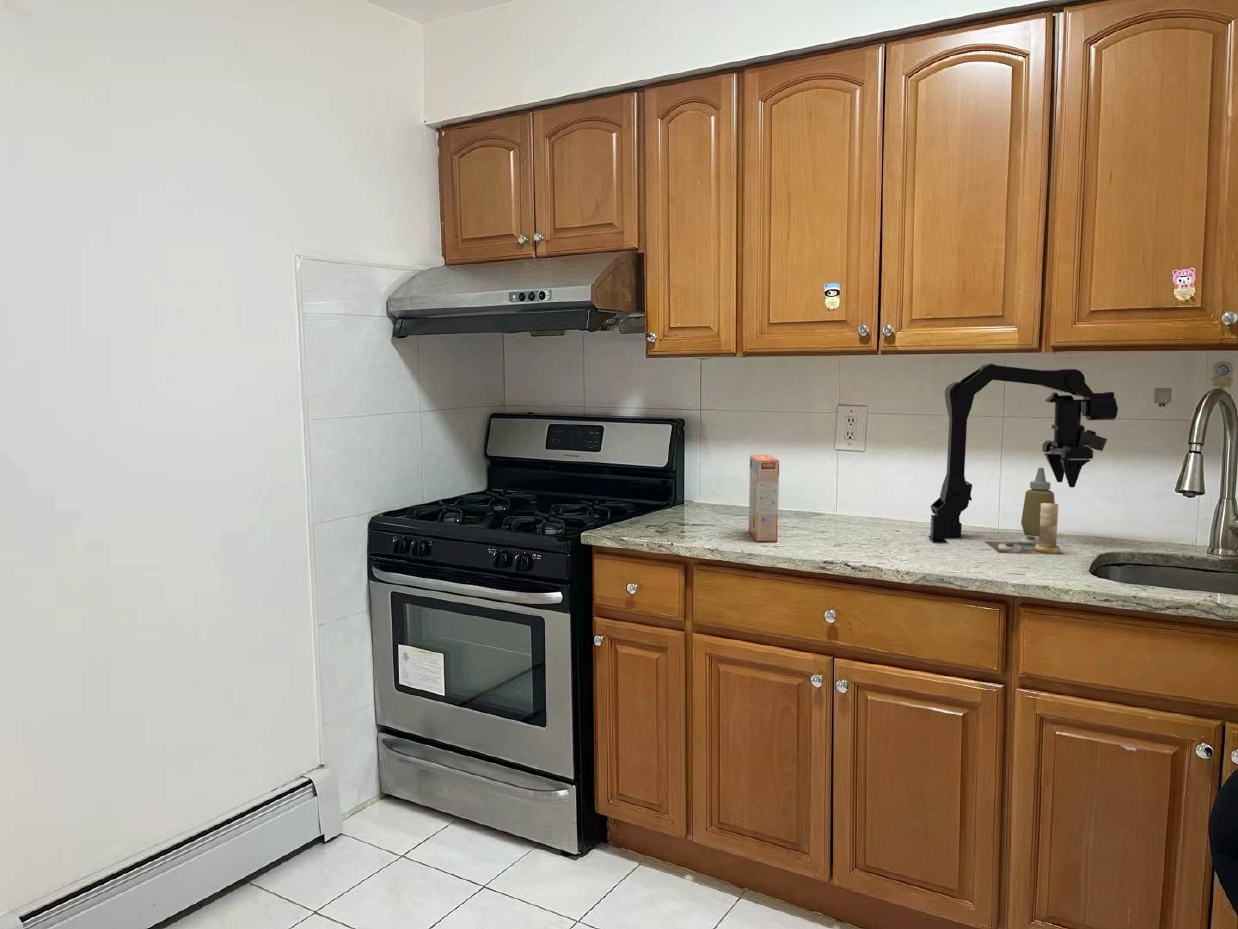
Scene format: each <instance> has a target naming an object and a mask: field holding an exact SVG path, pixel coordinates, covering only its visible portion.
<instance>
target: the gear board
mask: <svg viewBox="0 0 1238 929" xmlns="http://www.w3.org/2000/svg"><path fill="white" fill-rule="evenodd" d="M983 542H984V543H985V544H987V545H988V546H989V547H990V548H992V549H993V550H995V551H996V552H997V553H998V554H1010V555H1011V554H1013V555H1014V554H1016V555H1017V554H1018V555H1019V554H1020V555H1021V554H1022V555H1046V554H1045V553H1039V552H1036V551H1035V545H1037V544H1039V537H1036V536H1033V535H1027V537H1020V538H1019V541H992V540H991V541H989V540H988V541H987V540H986V541H984V540H983ZM1051 555H1053V556H1054V555H1062V556H1064V555H1065V554H1064V553H1063V552H1061V551H1060V553H1058V554H1051Z"/></svg>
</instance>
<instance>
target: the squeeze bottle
mask: <svg viewBox="0 0 1238 929" xmlns="http://www.w3.org/2000/svg"><path fill="white" fill-rule="evenodd" d="M1029 488H1030V489H1028V490H1026V491H1025V495H1024V501H1023V508H1022V512H1021V515H1022V516H1021V520H1020V524H1021V527H1022V530H1023V531H1022V532H1023V534H1024V536H1033V537H1039V532H1040V511H1041V503H1054V504H1056V500H1055V493H1054V492H1053V491H1052V490H1051V482H1049V481H1047V480H1046V474H1045V469H1044V467H1038V468H1037V471H1036V475H1035V478H1034V480H1033V481H1030V482H1029Z"/></svg>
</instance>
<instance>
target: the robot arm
mask: <svg viewBox="0 0 1238 929" xmlns="http://www.w3.org/2000/svg"><path fill="white" fill-rule="evenodd" d="M992 381H1002V382H1008V383H1009V382H1010V383H1018V384H1019V383H1020V384H1026V385H1027V384H1029V385H1037V386H1039V387H1044V388H1046V389H1050V390H1053V391H1056V392H1052V393H1051V395H1050V396H1049V397H1047V398H1046V399H1045V402H1047V403H1053V404H1054V421H1053V422H1054V424H1051V429H1052V430H1054V431H1053V440H1046V441H1044V443H1042V451H1041V452H1043V453H1044V456H1045V458H1046V460H1047V462H1048V464H1049V467H1050V468H1051V471H1052V473H1053V475H1054V477H1055V479H1056V480H1055V481H1056V482H1057V483H1063V480H1064V476H1065V478H1066V481H1067V484H1068V486H1069V488H1075V487H1076V484H1077V482H1078V479H1079V476H1080V473H1081V470H1082V468H1083V466H1085V465H1086V464H1087V463H1089V462H1091V460H1092V459H1094V450H1095V451H1100V452H1103V450H1104V448H1105V446H1106V444H1107V441H1108V439H1107V438H1105V437H1102V436H1100V435H1097V432H1096V431H1093V430H1091V429H1087V430H1086V428H1085V426H1084V425H1082V424H1081V423H1082V417H1085V419H1086V421H1114V420H1116V418H1117V415H1118V410H1119V407H1118V403H1117V399H1116V397H1115V392H1114V391H1103V392H1093V391H1092V390H1091V388H1090V387H1089V386H1088V384H1087V383H1086V378H1085V375H1084V373H1083V372H1082V371H1081V370H1079V369H1076V368H1060V369H1059V368H1058V369H1057V368H1056V369H1043V370H1040V369H1033V368H1023V367H1016V366H1005V365H996V364H994V363H985V364H982V365H981V366H980V367H979V368H978V369H976V370H975V371H973V372H971V373H970V374H968V375H967V376H965V377H964V378H962V379H961V380H960V381H953V382H951V383H949V385H947V386H946V387H945V390H944V399H945V406H946V410H947V414H948V435H947V436H948V438H947V439H948V440H947V456H946V457H947V458H946V460H947V461H946V475H945V477H944V480H943V483H942V486H941V490H940V495H939V497H938V499H937V500H936V501H934V502H933V503H932V504H931V505H930V509H931V512H932V514H931V515H930V535H928V538H929V540H931V542H932V543H944V544H945V543H946V544H947V543H949V541H947V539H961V538H962V525H963V524H962V522H960V519H961V518H960V516H961V513H962V512H963V511H964V510H966V509H967V508H968V507H969V503H970V501H971V502H972V501H973V500H972V490H973V484H972V483H970V482H969V481H967V480H966V477H965V468H966V467H965V466H966V449H967V448H966V446H967V431H968V430H967V425H968V418H969V416H970V412H971V411H972V410H971V409H972V407H973V402H974V398H975V395H976V394H978V393H979V392H980V391H982V389H983V388H985V387H986V386H987V385H989V383H990V382H992ZM1058 392H1060V393H1065V395H1063V394H1061V395H1059V394H1058ZM1067 394H1068V395H1067ZM1073 396H1074V397H1082V398H1081V399H1080V398H1078V399H1076V398H1074V397H1073Z"/></svg>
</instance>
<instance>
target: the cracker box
mask: <svg viewBox="0 0 1238 929" xmlns="http://www.w3.org/2000/svg"><path fill="white" fill-rule="evenodd" d="M779 480H780V460H779V459H777V458H775V457H774V456H773V455H771V454H750V456H749V492H748V493H749V494H748V495H749V496H748V497H749V498H748V500H749V501H748V533H749V534H750V535H751V537H752V538H753V540H754V541H755V542H757V541H765V542H766V543H767V542H772V543H773V542H774V543H775V542H778V532H779V531H778V528H779V527H778V525H779V492H780V491H779V488H780V487H779V484H780V481H779ZM765 542H764V543H765Z"/></svg>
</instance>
